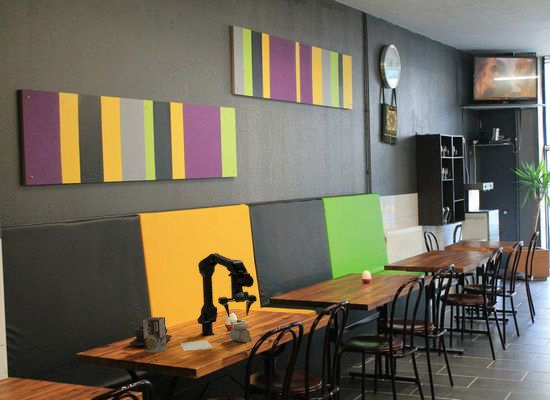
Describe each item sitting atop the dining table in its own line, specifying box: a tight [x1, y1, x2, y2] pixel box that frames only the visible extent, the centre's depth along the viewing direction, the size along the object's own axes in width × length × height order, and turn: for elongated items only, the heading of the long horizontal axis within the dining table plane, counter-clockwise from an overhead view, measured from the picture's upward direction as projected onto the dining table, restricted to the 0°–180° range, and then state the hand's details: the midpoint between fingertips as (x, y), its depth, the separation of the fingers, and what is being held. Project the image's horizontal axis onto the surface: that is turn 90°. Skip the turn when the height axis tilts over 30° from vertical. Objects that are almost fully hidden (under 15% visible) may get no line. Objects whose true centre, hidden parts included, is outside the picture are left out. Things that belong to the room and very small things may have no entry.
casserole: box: [129, 325, 173, 347], centre depth 375 cm, size 25×19×8 cm
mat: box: [179, 340, 214, 352], centre depth 365 cm, size 18×14×1 cm
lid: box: [230, 319, 249, 329], centre depth 372 cm, size 11×7×3 cm, turn 13°
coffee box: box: [142, 316, 168, 353], centre depth 357 cm, size 9×6×16 cm
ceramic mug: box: [229, 326, 253, 343], centre depth 373 cm, size 11×8×8 cm
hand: (238, 316), depth 372 cm, fingers open, 9 cm apart
